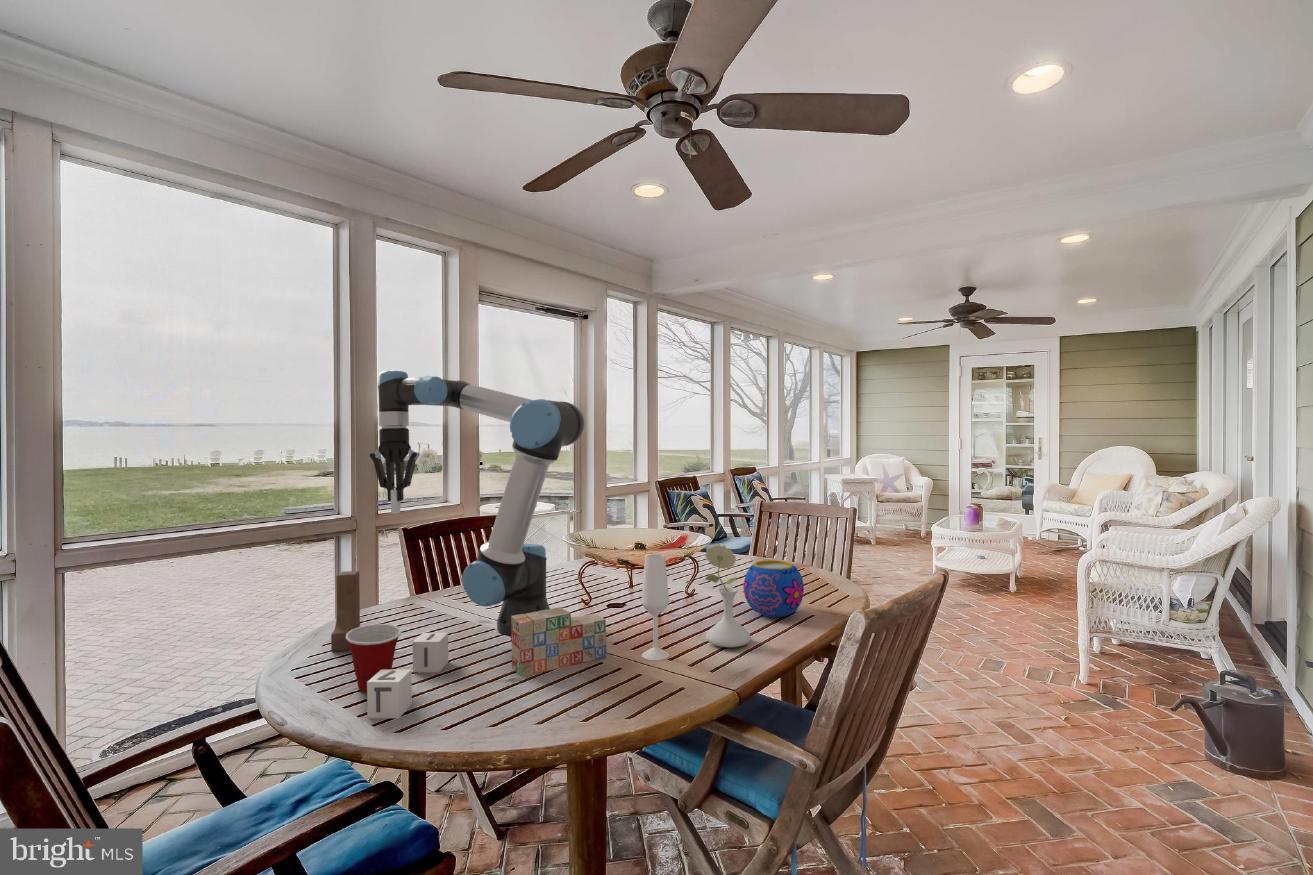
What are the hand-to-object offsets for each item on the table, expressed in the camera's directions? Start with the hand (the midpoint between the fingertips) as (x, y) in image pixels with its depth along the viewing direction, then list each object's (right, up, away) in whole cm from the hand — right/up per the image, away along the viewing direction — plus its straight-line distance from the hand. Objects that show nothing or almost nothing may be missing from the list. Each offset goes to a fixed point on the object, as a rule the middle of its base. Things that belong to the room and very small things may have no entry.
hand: (395, 513), depth 167 cm
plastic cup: (+12, -33, -38) cm, 51 cm away
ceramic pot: (+106, -32, +11) cm, 111 cm away
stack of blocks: (+49, -32, -25) cm, 64 cm away
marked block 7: (+20, -33, -49) cm, 62 cm away
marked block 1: (+20, -32, -27) cm, 46 cm away
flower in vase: (+90, -32, -12) cm, 96 cm away
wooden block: (-7, -32, -12) cm, 35 cm away
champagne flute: (+72, -32, -21) cm, 81 cm away
